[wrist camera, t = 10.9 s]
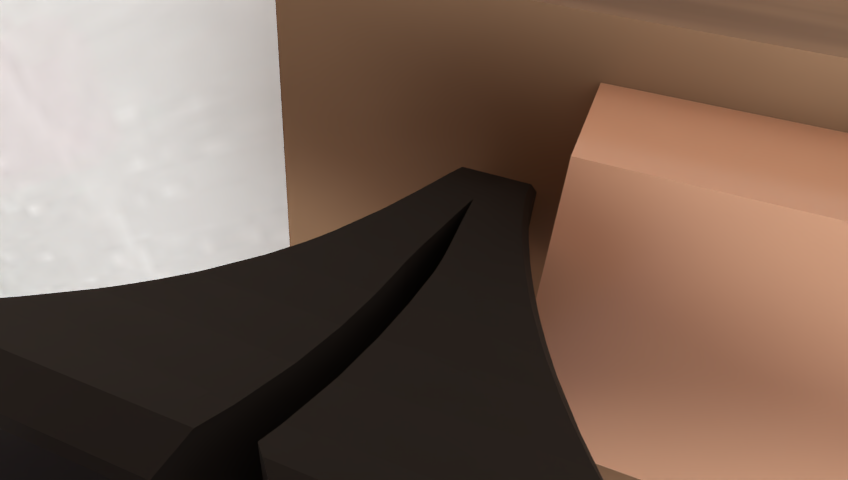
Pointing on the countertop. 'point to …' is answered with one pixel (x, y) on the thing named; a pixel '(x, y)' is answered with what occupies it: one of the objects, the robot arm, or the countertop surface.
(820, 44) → the wooden cutting board
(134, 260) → the countertop surface
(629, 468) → the tile
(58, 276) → the countertop surface
